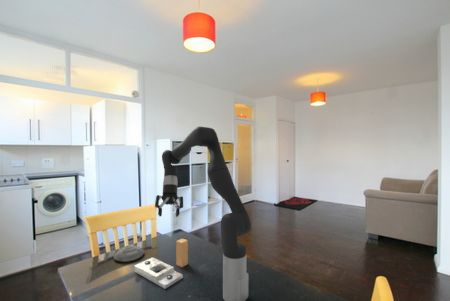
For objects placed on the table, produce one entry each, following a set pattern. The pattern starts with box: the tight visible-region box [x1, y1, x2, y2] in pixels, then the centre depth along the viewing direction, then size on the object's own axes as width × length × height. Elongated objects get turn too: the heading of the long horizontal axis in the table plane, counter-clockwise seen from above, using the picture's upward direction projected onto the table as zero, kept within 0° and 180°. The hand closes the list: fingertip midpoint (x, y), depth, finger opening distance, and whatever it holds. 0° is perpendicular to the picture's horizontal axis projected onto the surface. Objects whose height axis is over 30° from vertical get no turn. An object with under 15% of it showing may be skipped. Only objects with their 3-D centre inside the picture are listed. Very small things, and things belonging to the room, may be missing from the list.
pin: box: [175, 238, 189, 268], centre depth 113 cm, size 4×4×12 cm
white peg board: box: [134, 256, 184, 290], centre depth 104 cm, size 22×10×3 cm, turn 54°
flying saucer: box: [113, 245, 145, 262], centre depth 122 cm, size 15×15×6 cm
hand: (168, 216), depth 115 cm, fingers open, 8 cm apart
